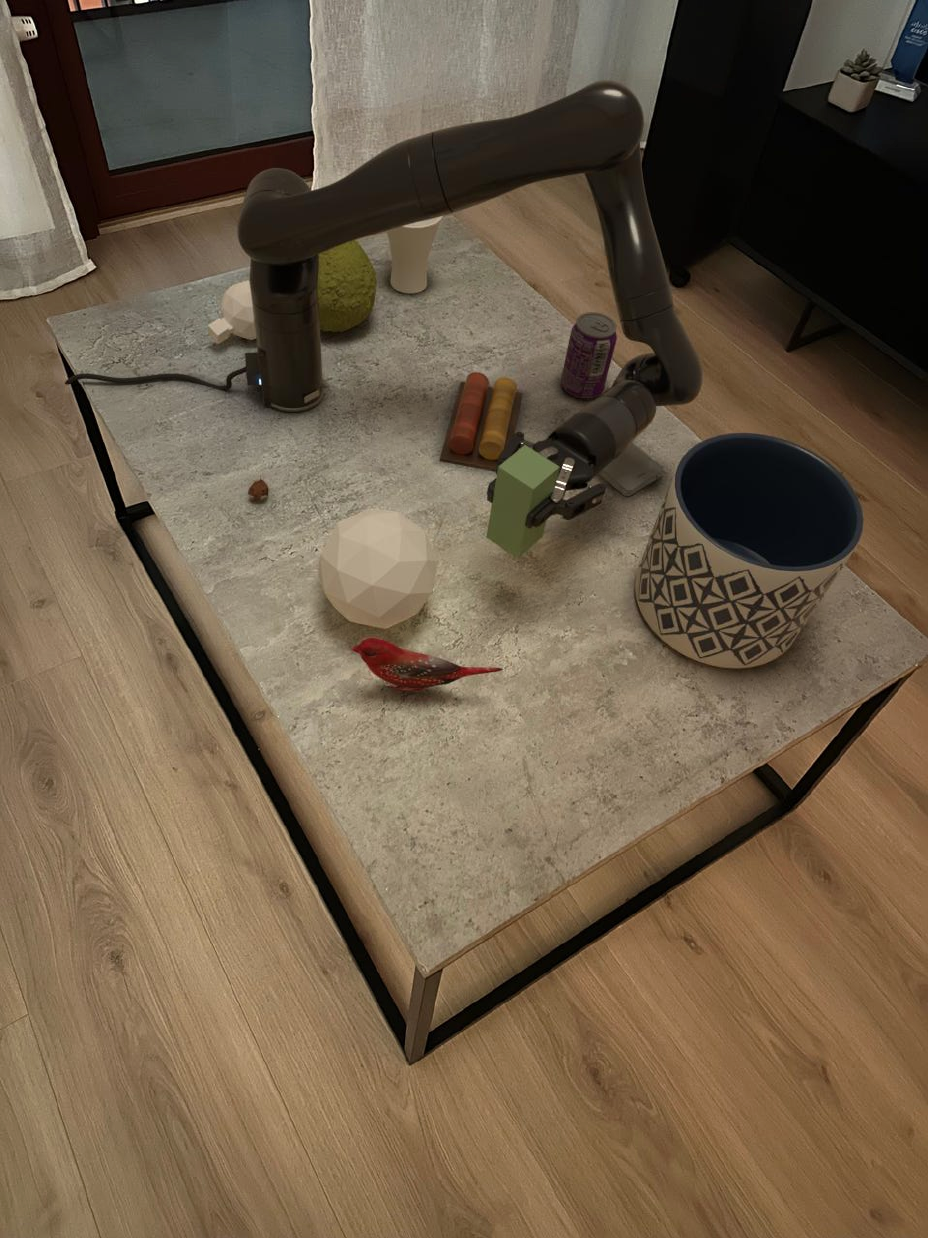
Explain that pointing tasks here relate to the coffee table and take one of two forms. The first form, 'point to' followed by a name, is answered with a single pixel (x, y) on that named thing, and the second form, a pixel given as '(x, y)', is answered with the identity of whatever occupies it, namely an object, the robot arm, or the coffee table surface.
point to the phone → (631, 471)
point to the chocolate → (258, 489)
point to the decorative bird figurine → (411, 666)
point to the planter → (745, 548)
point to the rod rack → (481, 422)
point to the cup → (411, 254)
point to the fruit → (345, 287)
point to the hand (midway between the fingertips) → (509, 509)
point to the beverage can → (589, 355)
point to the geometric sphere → (377, 568)
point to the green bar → (520, 499)
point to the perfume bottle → (235, 314)
